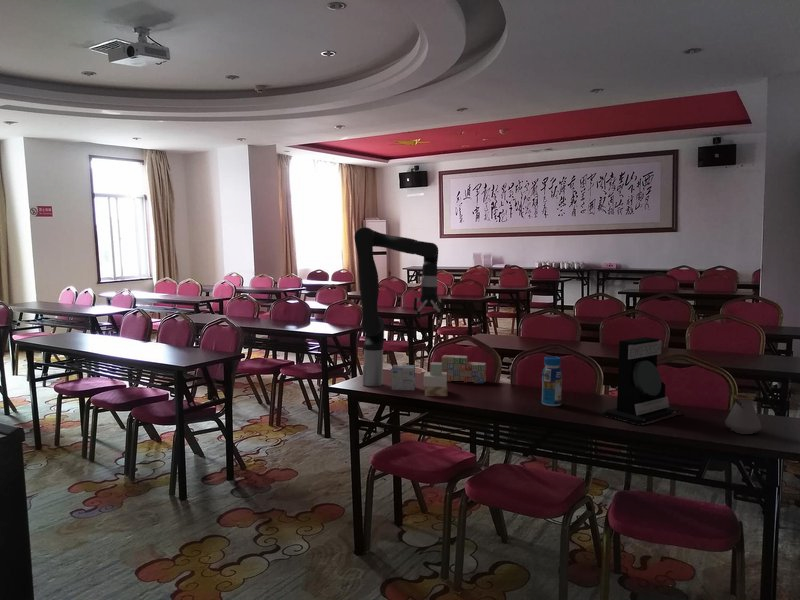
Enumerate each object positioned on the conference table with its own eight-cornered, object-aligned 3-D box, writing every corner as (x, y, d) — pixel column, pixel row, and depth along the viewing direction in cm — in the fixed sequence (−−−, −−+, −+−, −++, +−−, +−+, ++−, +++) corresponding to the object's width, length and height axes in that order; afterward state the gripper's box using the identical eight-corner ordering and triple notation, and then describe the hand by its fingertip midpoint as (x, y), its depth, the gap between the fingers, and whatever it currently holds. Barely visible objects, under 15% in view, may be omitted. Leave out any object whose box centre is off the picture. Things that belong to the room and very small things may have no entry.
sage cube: (430, 375, 270) (430, 364, 269) (430, 373, 275) (430, 362, 274) (441, 375, 269) (441, 364, 269) (441, 373, 274) (441, 362, 274)
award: (641, 427, 223) (644, 347, 220) (598, 415, 238) (600, 340, 236) (685, 414, 241) (688, 340, 238) (642, 404, 256) (645, 334, 253)
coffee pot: (728, 425, 226) (730, 385, 225) (763, 431, 218) (766, 390, 217) (714, 438, 210) (716, 396, 208) (752, 445, 202) (754, 402, 201)
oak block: (424, 396, 268) (424, 386, 268) (425, 391, 278) (425, 381, 278) (447, 396, 268) (447, 386, 267) (446, 391, 278) (446, 381, 277)
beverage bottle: (538, 401, 259) (539, 355, 257) (557, 401, 260) (559, 355, 258) (544, 406, 251) (545, 359, 249) (564, 406, 251) (565, 359, 250)
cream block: (423, 386, 268) (423, 376, 268) (424, 381, 278) (425, 371, 278) (446, 387, 267) (446, 377, 267) (446, 382, 277) (446, 372, 277)
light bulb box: (415, 387, 284) (415, 364, 283) (414, 390, 278) (414, 367, 277) (393, 386, 286) (393, 364, 285) (391, 390, 279) (391, 367, 278)
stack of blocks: (485, 381, 299) (486, 356, 298) (484, 384, 293) (484, 359, 292) (443, 378, 305) (443, 354, 303) (441, 381, 299) (441, 356, 297)
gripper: (413, 285, 278) (413, 320, 280) (444, 286, 277) (443, 321, 279) (414, 284, 286) (413, 318, 287) (444, 285, 285) (443, 319, 286)
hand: (428, 319), depth 283 cm, fingers open, 8 cm apart
